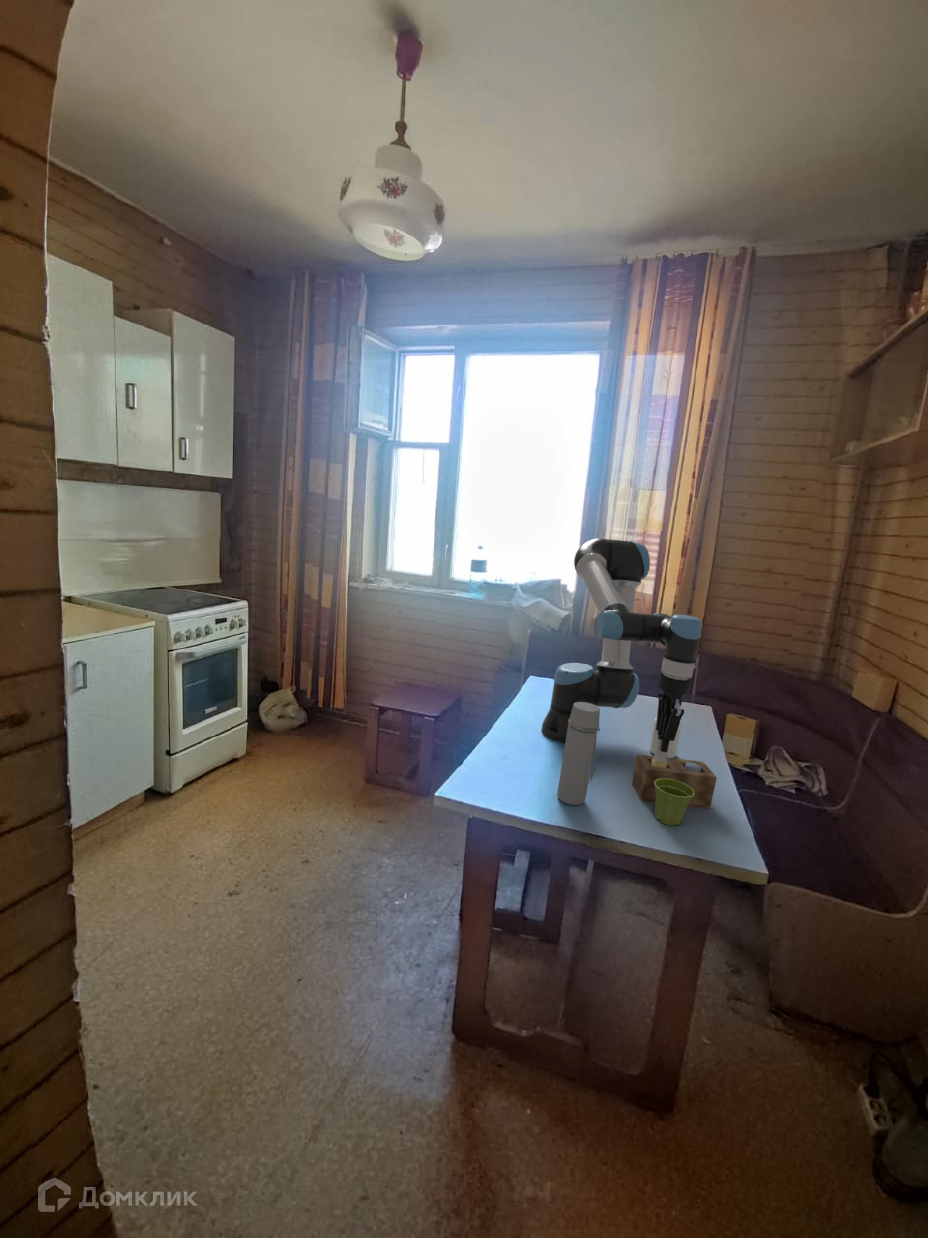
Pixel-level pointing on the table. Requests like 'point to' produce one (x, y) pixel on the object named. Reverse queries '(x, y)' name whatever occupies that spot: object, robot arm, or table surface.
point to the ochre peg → (658, 764)
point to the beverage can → (672, 745)
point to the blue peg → (692, 767)
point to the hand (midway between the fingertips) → (659, 761)
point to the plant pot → (671, 800)
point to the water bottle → (579, 753)
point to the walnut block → (674, 770)
